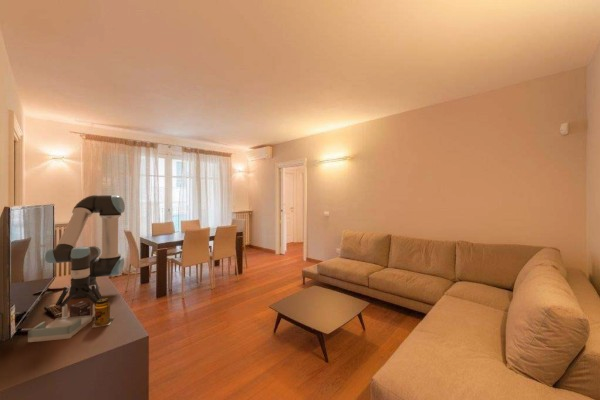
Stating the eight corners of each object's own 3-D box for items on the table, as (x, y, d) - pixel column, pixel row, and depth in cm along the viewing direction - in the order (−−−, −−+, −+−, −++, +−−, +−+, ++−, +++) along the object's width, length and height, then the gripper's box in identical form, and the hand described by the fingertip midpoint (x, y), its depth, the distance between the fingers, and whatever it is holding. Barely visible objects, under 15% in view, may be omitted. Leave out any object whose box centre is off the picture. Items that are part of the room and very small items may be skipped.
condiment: (91, 328, 119) (91, 303, 119) (97, 320, 127) (97, 297, 127) (109, 325, 122) (110, 301, 122) (114, 317, 130) (114, 294, 130)
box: (78, 321, 125) (78, 307, 125) (69, 319, 126) (69, 305, 126) (90, 315, 131) (90, 302, 131) (81, 314, 132) (81, 300, 132)
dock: (56, 322, 123) (56, 313, 123) (92, 319, 127) (92, 310, 127) (27, 342, 107) (28, 330, 107) (69, 338, 110) (70, 327, 110)
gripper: (46, 280, 122) (45, 322, 122) (103, 277, 128) (103, 317, 128) (57, 275, 130) (57, 315, 130) (111, 273, 135) (110, 311, 135)
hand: (80, 316), depth 129 cm, fingers open, 13 cm apart
